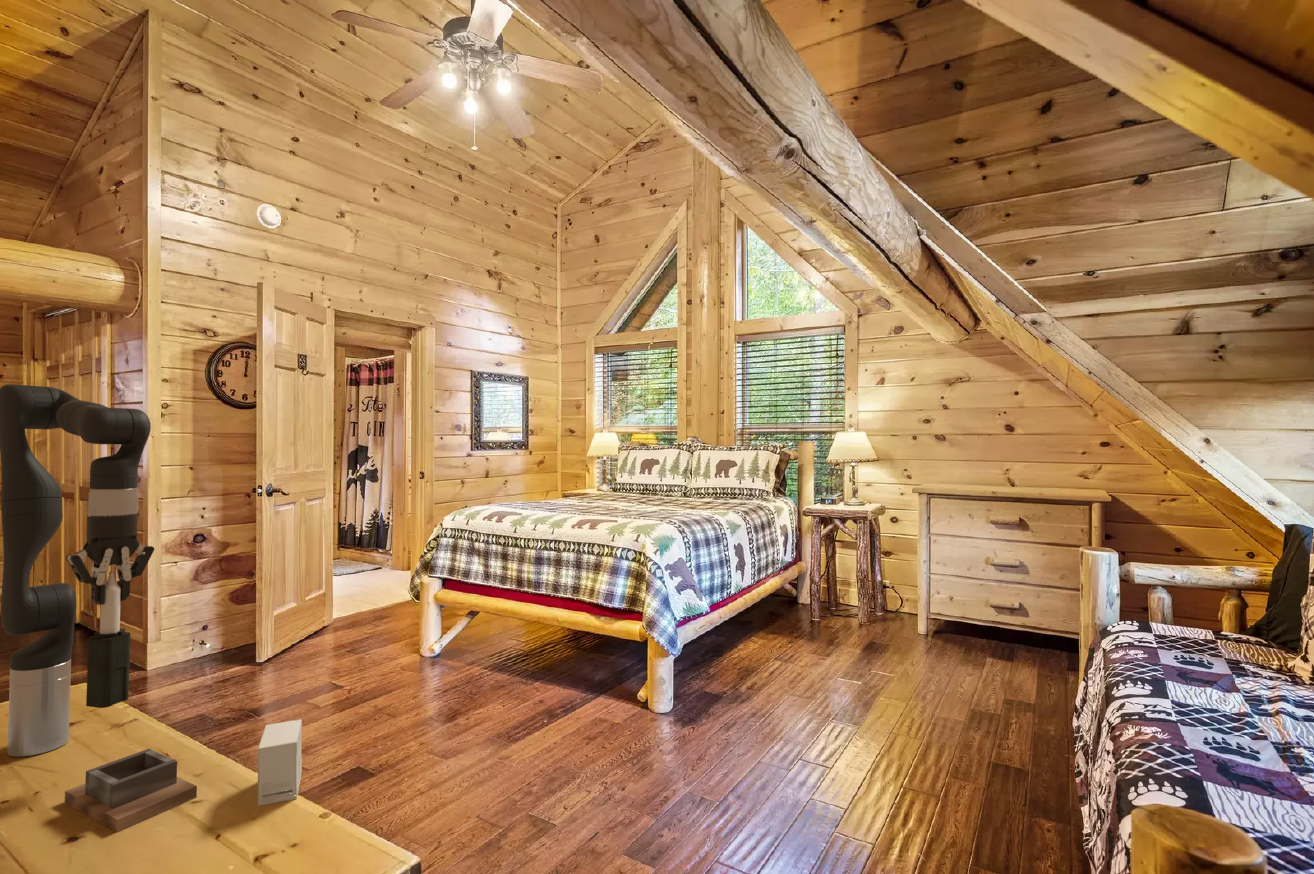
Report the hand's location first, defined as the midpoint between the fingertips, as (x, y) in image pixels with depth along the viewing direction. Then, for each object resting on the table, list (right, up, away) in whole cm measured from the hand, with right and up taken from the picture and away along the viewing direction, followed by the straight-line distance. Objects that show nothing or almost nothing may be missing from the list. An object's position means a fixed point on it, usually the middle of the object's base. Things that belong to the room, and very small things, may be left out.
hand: (110, 601), depth 124 cm
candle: (0, -19, 0) cm, 19 cm away
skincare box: (+35, -34, -4) cm, 49 cm away
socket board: (+11, -33, -8) cm, 36 cm away
